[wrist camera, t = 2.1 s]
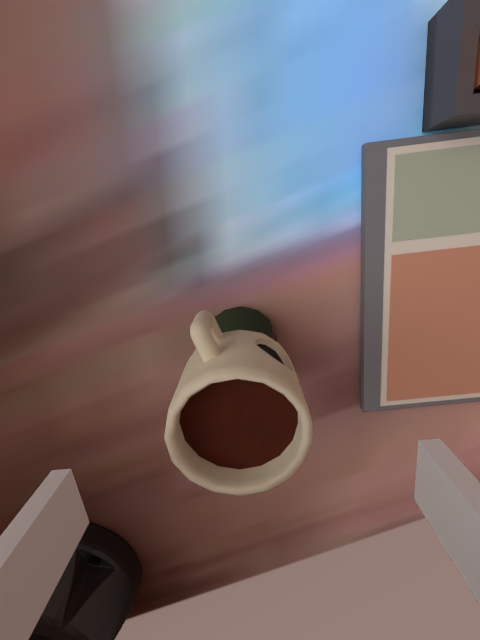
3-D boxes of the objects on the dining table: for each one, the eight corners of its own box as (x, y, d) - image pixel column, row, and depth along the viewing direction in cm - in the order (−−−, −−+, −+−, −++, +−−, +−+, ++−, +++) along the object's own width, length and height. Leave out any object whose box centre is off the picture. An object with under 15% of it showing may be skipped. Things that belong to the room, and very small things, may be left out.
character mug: (299, 376, 28) (346, 498, 15) (228, 403, 29) (218, 539, 16) (253, 265, 25) (265, 306, 12) (175, 299, 26) (113, 368, 13)
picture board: (360, 406, 29) (364, 412, 28) (361, 145, 22) (367, 142, 21) (524, 391, 28) (533, 397, 27) (574, 119, 22) (590, 114, 21)
